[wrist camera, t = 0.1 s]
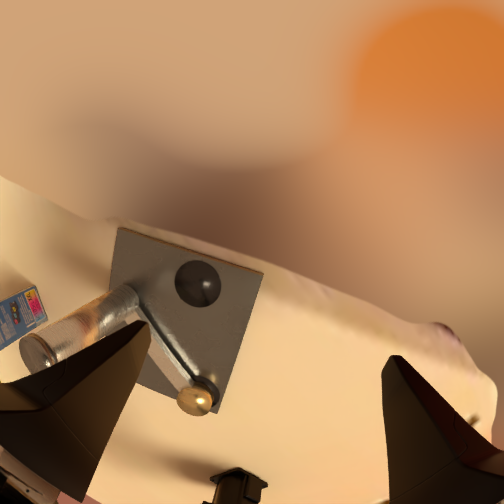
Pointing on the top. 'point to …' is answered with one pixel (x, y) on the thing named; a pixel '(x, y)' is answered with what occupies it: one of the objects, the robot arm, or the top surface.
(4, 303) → the ink cartridge box
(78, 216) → the top surface
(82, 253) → the top surface
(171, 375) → the crank handle
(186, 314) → the bolt plate
